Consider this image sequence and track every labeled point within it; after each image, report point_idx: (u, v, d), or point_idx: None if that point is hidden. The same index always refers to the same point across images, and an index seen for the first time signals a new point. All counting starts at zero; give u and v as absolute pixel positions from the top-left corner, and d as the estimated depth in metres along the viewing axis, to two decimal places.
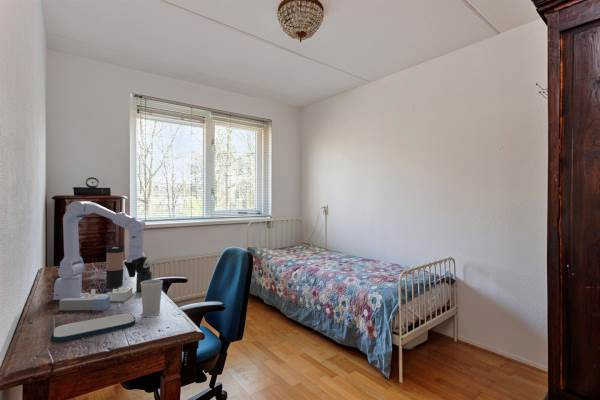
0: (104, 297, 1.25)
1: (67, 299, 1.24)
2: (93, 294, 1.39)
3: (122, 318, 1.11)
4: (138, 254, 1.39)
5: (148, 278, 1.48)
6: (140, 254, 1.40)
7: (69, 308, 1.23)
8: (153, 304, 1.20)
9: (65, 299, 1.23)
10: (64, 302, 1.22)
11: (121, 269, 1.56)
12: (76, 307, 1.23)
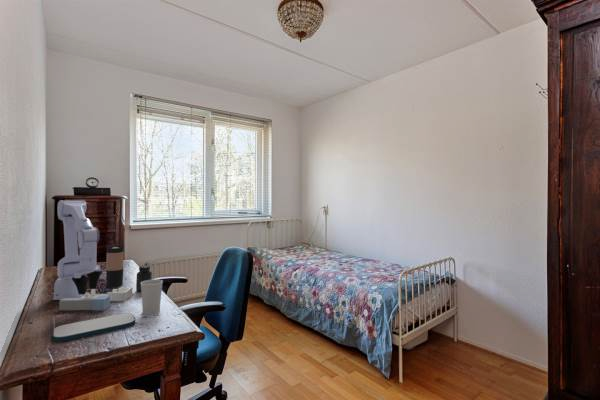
0: (104, 297, 1.25)
1: (67, 299, 1.24)
2: (93, 294, 1.39)
3: (122, 318, 1.11)
4: (90, 268, 1.23)
5: (148, 278, 1.48)
6: (92, 268, 1.24)
7: (69, 308, 1.23)
8: (153, 304, 1.20)
9: (65, 299, 1.23)
10: (64, 302, 1.22)
11: (121, 269, 1.56)
12: (76, 307, 1.23)
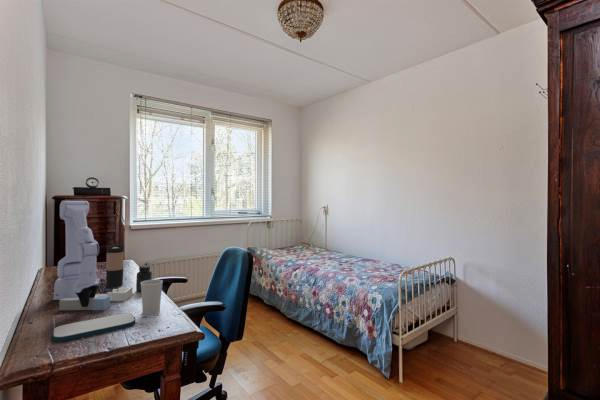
0: (104, 297, 1.25)
1: (67, 299, 1.24)
2: None
3: (122, 318, 1.11)
4: (89, 282, 1.23)
5: (148, 278, 1.48)
6: (92, 282, 1.24)
7: (69, 308, 1.23)
8: (153, 304, 1.20)
9: (65, 299, 1.23)
10: (64, 302, 1.22)
11: (121, 269, 1.56)
12: (76, 307, 1.23)
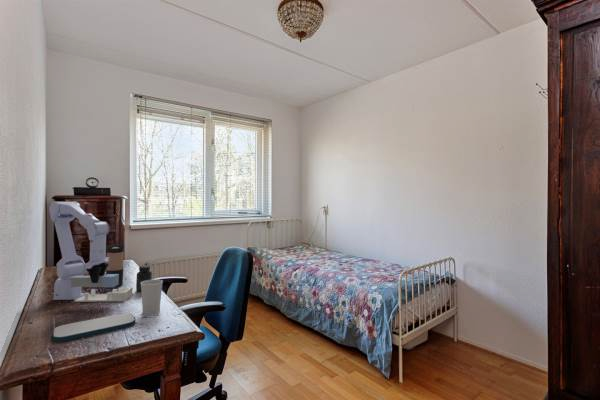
0: (113, 275, 1.32)
1: (78, 276, 1.30)
2: (93, 294, 1.39)
3: (122, 318, 1.11)
4: (99, 259, 1.29)
5: (148, 278, 1.48)
6: (102, 259, 1.30)
7: (80, 285, 1.29)
8: (153, 304, 1.20)
9: (76, 276, 1.30)
10: (76, 279, 1.29)
11: (121, 269, 1.56)
12: (87, 284, 1.29)
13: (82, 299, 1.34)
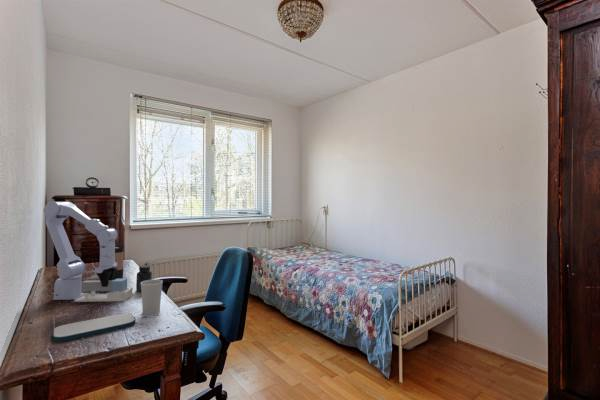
0: (122, 279, 1.38)
1: (88, 281, 1.37)
2: (93, 294, 1.39)
3: (122, 318, 1.11)
4: (109, 264, 1.36)
5: (148, 278, 1.48)
6: (111, 264, 1.37)
7: (90, 289, 1.36)
8: (153, 304, 1.20)
9: (87, 281, 1.37)
10: (86, 284, 1.35)
11: (121, 269, 1.56)
12: (97, 288, 1.36)
13: (82, 299, 1.34)
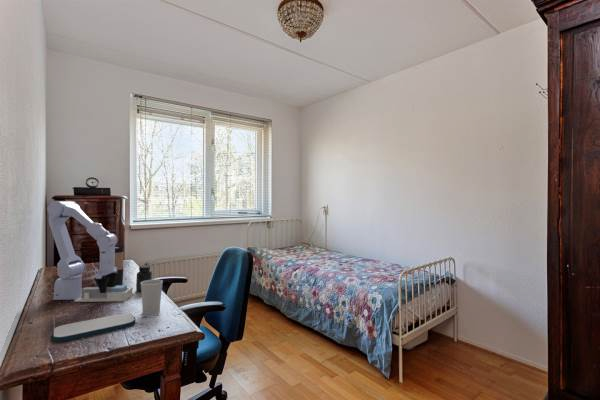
0: (121, 286, 1.38)
1: (88, 288, 1.37)
2: None
3: (122, 318, 1.11)
4: (109, 269, 1.36)
5: (148, 278, 1.48)
6: (111, 269, 1.37)
7: (90, 296, 1.36)
8: (153, 304, 1.20)
9: (86, 288, 1.36)
10: (86, 291, 1.35)
11: (121, 269, 1.56)
12: (97, 295, 1.36)
13: (82, 299, 1.34)
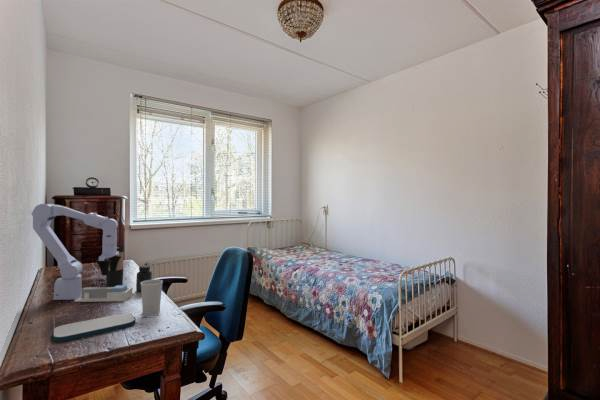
0: (121, 286, 1.38)
1: (88, 288, 1.37)
2: None
3: (122, 318, 1.11)
4: (111, 253, 1.42)
5: (148, 278, 1.48)
6: (113, 253, 1.42)
7: (90, 296, 1.36)
8: (153, 304, 1.20)
9: (86, 288, 1.36)
10: (86, 291, 1.35)
11: (121, 269, 1.56)
12: (97, 295, 1.36)
13: (82, 299, 1.34)
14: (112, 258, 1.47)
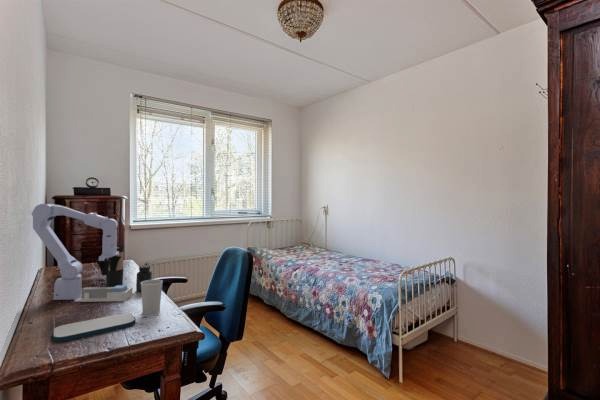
0: (121, 286, 1.38)
1: (88, 288, 1.37)
2: None
3: (122, 318, 1.11)
4: (111, 253, 1.42)
5: (148, 278, 1.48)
6: (113, 253, 1.42)
7: (90, 296, 1.36)
8: (153, 304, 1.20)
9: (86, 288, 1.36)
10: (86, 291, 1.35)
11: (121, 269, 1.56)
12: (97, 295, 1.36)
13: (82, 299, 1.34)
14: (112, 258, 1.47)
